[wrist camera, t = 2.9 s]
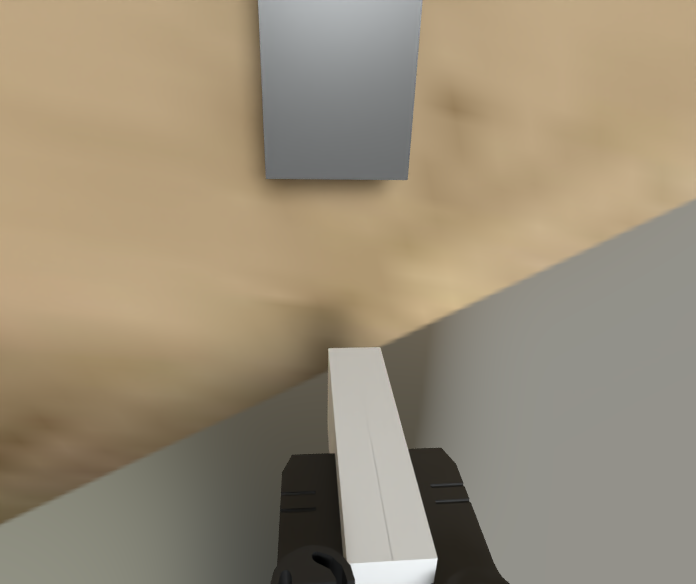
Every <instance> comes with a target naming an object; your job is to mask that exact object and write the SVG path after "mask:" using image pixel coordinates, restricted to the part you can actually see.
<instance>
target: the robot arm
mask: <svg viewBox="0 0 696 584" xmlns="http://www.w3.org/2000/svg"><path fill="white" fill-rule="evenodd" d="M327 427H328V442H329V454H303V455H292V456H291V458H290V460H289V462H288V463H287V465H286V467H285V468H284V470H283V472H282V486H281V487H282V488H281V505H280V525H279V543H278V563H277V567H276V568H275V570H274V573H273V577H272V580H271V584H509V583H508V582H507V581H506V580H505V579H504V578H502V576H501V575H500V574H499V572H498V570H497V568H496V566H495V564H494V562H493V560H492V557H491V554H490V552H489V549H488V546H487V544H486V541H485V539H484V536H483V533H482V531H481V529H480V526H479V523H478V520H477V518H476V515H475V513H474V510H473V507H472V505H471V503H470V502H469V497H468V494H467V492H466V489H465V487H464V486H463V481H462V479H461V476H460V473H459V471H458V468H457V465H456V463H454V461H453V460H452V459H451V458H450V457H449V456H448V455H447V454H446V453H445V451H444V450H443V449H442V448H422V449H408V448H407V444H406V441H405V437H404V433H403V429H402V426H401V422H400V418H399V415H398V411H397V407H396V404H395V400H394V396H393V393H392V389H391V385H390V381H389V378H388V374H387V371H386V367H385V363H384V359H383V356H382V352H381V348H380V347H364V348H328V408H327Z"/></svg>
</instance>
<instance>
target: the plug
mask: <svg viewBox="0 0 696 584" xmlns="http://www.w3.org/2000/svg"><path fill="white" fill-rule="evenodd" d="M258 10H259V33H260V56H261V78H262V101H263V124H264V146H265V169H266V179H354V180H408V168H409V156H410V144H411V132H412V120H413V108H414V96H415V84H416V72H417V60H418V48H419V36H420V24H421V12H422V0H258Z"/></svg>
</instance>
